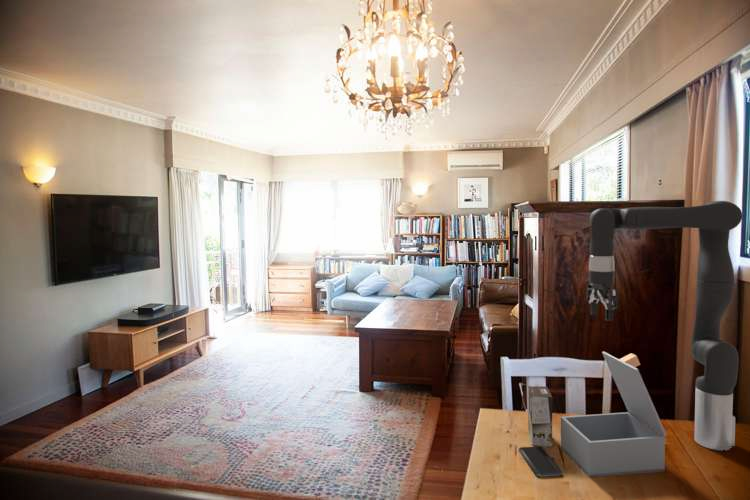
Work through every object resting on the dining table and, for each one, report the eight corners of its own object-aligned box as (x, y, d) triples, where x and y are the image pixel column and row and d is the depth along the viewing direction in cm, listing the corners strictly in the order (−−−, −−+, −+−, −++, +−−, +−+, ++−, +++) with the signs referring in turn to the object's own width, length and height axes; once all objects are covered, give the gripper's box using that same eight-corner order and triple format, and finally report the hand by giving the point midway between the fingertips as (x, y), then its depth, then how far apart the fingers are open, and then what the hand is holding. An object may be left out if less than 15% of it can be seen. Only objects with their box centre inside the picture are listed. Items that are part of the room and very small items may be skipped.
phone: (536, 475, 124) (517, 447, 139) (536, 479, 124) (517, 450, 139) (564, 474, 124) (542, 446, 139) (564, 477, 124) (542, 449, 139)
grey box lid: (628, 411, 140) (642, 404, 140) (665, 436, 124) (680, 428, 124) (601, 352, 138) (616, 344, 138) (635, 369, 122) (652, 361, 122)
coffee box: (553, 447, 140) (553, 397, 139) (531, 445, 141) (531, 396, 140) (547, 433, 149) (547, 386, 148) (527, 431, 150) (527, 385, 149)
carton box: (627, 442, 141) (628, 412, 140) (664, 471, 125) (665, 437, 124) (560, 447, 139) (560, 416, 139) (589, 477, 123) (589, 442, 123)
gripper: (626, 271, 140) (625, 322, 141) (599, 266, 154) (599, 312, 155) (603, 272, 139) (603, 323, 140) (579, 267, 153) (578, 313, 155)
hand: (601, 317), depth 148 cm, fingers open, 8 cm apart
